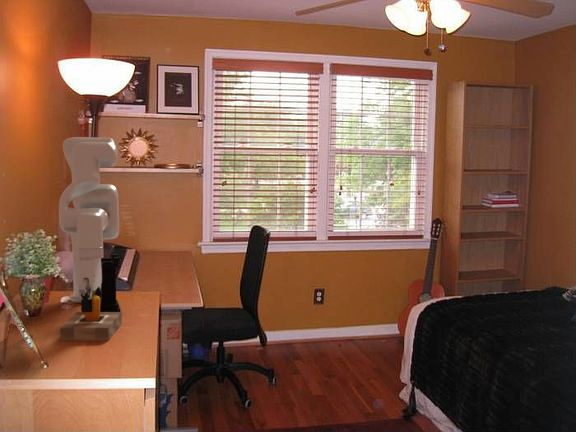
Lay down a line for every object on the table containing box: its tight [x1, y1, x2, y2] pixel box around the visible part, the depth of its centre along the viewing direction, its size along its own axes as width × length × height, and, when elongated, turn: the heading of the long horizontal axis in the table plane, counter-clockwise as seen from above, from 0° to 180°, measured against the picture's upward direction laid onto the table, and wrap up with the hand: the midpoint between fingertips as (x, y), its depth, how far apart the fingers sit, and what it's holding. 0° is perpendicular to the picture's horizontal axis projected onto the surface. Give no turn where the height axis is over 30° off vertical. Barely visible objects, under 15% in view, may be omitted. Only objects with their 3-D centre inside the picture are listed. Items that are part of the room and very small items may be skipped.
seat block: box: [59, 311, 123, 342], centre depth 187 cm, size 16×14×4 cm
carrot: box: [84, 290, 100, 322], centre depth 187 cm, size 5×5×15 cm
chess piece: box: [100, 253, 123, 317], centre depth 205 cm, size 8×8×20 cm
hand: (91, 307), depth 187 cm, fingers open, 9 cm apart
